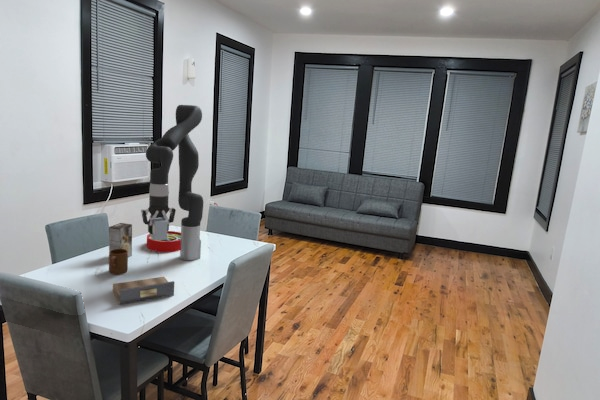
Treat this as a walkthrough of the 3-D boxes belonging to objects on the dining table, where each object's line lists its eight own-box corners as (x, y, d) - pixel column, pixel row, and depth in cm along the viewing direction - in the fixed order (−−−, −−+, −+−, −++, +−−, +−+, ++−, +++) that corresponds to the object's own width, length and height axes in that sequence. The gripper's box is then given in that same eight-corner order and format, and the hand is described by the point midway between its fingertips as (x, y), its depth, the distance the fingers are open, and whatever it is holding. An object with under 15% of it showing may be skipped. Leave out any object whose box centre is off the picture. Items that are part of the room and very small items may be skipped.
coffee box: (120, 253, 200) (120, 222, 197) (132, 255, 199) (132, 224, 196) (108, 259, 191) (108, 226, 188) (120, 261, 190) (120, 228, 187)
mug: (119, 279, 170) (120, 258, 168) (101, 278, 170) (101, 257, 168) (130, 269, 182) (130, 249, 180) (113, 267, 181) (113, 248, 180)
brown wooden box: (163, 283, 170) (163, 270, 169) (174, 295, 159) (174, 282, 158) (112, 291, 159) (112, 278, 158) (120, 305, 148) (120, 291, 147)
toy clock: (181, 230, 230) (190, 240, 213) (180, 239, 231) (189, 250, 214) (144, 232, 220) (150, 242, 203) (143, 242, 221) (150, 254, 204)
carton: (162, 234, 176) (162, 216, 174) (167, 239, 170) (168, 221, 168) (148, 235, 173) (149, 217, 171) (154, 240, 166) (154, 222, 165)
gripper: (173, 191, 174) (172, 228, 178) (138, 192, 166) (138, 232, 169) (179, 195, 169) (178, 233, 172) (143, 196, 160) (143, 237, 163)
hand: (158, 232), depth 171 cm, fingers closed on carton, 5 cm apart
